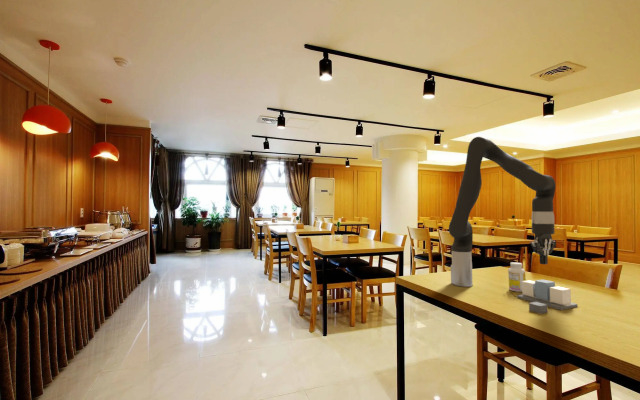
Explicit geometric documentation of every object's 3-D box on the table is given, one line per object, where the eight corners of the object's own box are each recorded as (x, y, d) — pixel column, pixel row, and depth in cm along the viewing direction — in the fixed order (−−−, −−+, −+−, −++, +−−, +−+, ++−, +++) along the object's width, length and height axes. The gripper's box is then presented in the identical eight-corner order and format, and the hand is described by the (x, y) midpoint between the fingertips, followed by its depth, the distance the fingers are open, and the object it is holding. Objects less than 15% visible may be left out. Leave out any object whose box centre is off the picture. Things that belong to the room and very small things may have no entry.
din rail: (516, 297, 125) (516, 281, 126) (532, 294, 129) (531, 279, 129) (561, 310, 109) (560, 291, 110) (577, 306, 113) (576, 288, 113)
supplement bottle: (520, 288, 139) (519, 261, 140) (529, 292, 133) (528, 264, 133) (506, 288, 140) (505, 261, 140) (514, 292, 133) (512, 264, 134)
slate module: (535, 297, 120) (535, 280, 121) (543, 296, 122) (542, 279, 122) (547, 300, 116) (546, 283, 116) (555, 299, 118) (554, 281, 118)
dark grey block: (529, 310, 110) (528, 302, 110) (536, 309, 111) (536, 301, 111) (540, 314, 106) (539, 306, 106) (547, 312, 107) (547, 304, 108)
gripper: (543, 221, 126) (544, 261, 125) (522, 222, 121) (523, 263, 121) (563, 222, 119) (564, 264, 118) (541, 223, 114) (542, 267, 114)
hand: (543, 264), depth 120 cm, fingers closed
